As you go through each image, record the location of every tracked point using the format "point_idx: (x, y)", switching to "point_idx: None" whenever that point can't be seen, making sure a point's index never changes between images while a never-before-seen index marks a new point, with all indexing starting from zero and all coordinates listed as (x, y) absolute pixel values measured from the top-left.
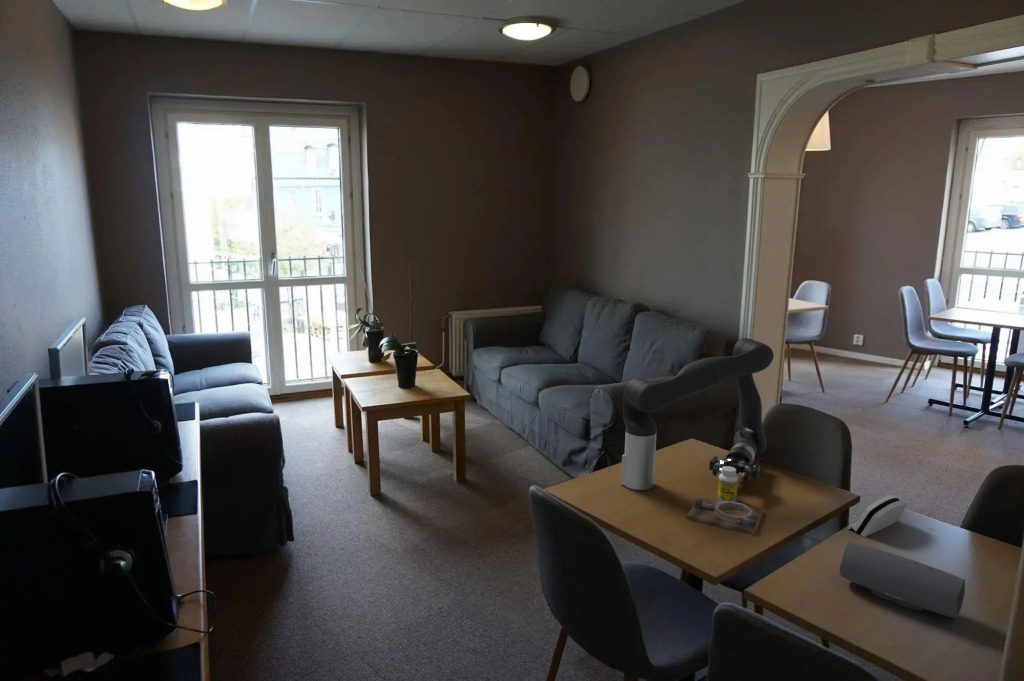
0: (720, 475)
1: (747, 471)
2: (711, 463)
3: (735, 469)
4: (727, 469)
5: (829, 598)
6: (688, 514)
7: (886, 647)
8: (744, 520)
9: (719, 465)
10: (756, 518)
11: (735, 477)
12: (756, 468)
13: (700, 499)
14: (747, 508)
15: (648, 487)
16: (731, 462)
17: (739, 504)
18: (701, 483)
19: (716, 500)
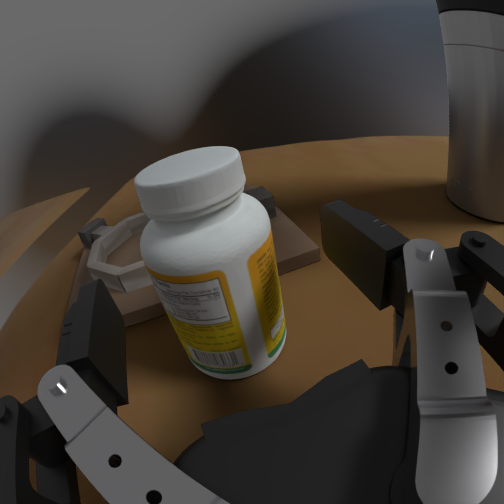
0: (243, 193)
1: (74, 345)
2: (460, 240)
3: (138, 180)
4: (189, 157)
5: (20, 225)
6: (252, 186)
7: (3, 220)
8: (107, 227)
9: (401, 270)
10: (83, 277)
11: (147, 224)
12: (2, 473)
13: (260, 198)
14: (103, 263)
15: (449, 191)
16: (400, 441)
17: (133, 264)
18: None
19: None
